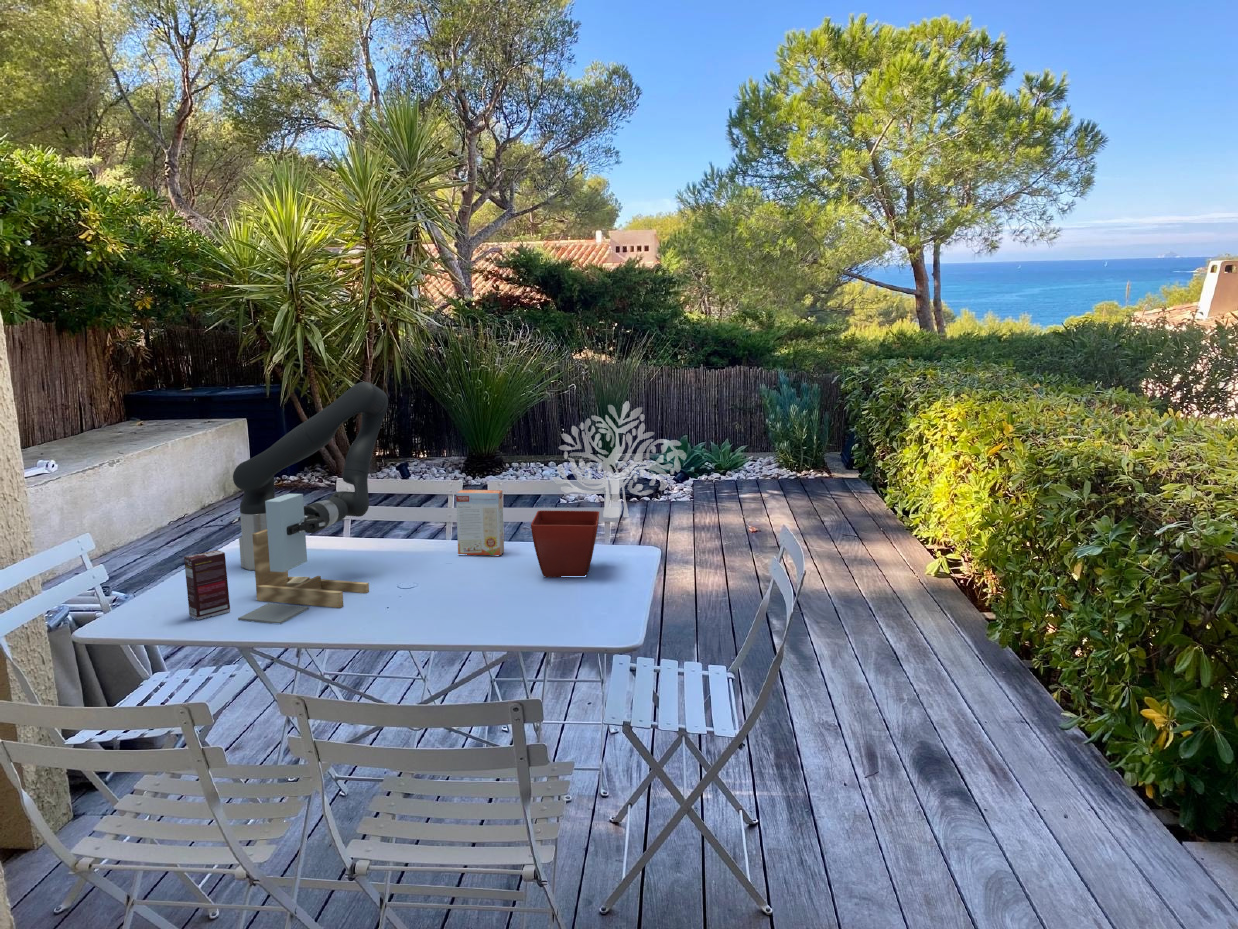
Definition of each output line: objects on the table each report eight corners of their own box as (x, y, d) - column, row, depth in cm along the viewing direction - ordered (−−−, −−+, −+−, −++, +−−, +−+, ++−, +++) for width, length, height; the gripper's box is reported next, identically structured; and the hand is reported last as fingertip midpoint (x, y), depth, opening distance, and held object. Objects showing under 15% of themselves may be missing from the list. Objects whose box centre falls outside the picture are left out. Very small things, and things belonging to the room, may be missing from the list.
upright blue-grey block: (270, 571, 215) (265, 501, 212) (293, 560, 225) (289, 493, 222) (284, 572, 214) (279, 501, 211) (307, 561, 224) (302, 494, 221)
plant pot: (597, 581, 247) (596, 524, 245) (531, 581, 248) (530, 524, 245) (599, 563, 266) (599, 510, 263) (538, 563, 266) (537, 510, 264)
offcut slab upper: (286, 590, 232) (286, 583, 232) (295, 583, 238) (295, 576, 238) (301, 590, 232) (301, 583, 232) (310, 583, 238) (309, 576, 238)
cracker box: (504, 552, 279) (503, 489, 276) (500, 557, 273) (498, 493, 270) (462, 551, 281) (460, 488, 277) (457, 556, 275) (455, 492, 272)
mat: (238, 620, 214) (238, 618, 214) (268, 605, 226) (268, 603, 226) (280, 624, 211) (280, 622, 211) (308, 609, 223) (308, 606, 223)
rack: (253, 600, 230) (249, 535, 227) (286, 584, 244) (283, 523, 241) (340, 607, 224) (336, 540, 221) (369, 591, 238) (366, 528, 235)
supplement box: (221, 608, 223) (217, 549, 221) (230, 612, 220) (226, 552, 218) (187, 617, 217) (183, 556, 214) (196, 621, 214) (191, 559, 211)
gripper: (293, 501, 233) (253, 515, 216) (340, 503, 230) (304, 517, 213) (295, 528, 234) (255, 543, 217) (342, 530, 231) (305, 546, 214)
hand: (280, 530), depth 215 cm, fingers closed on upright blue-grey block, 4 cm apart
